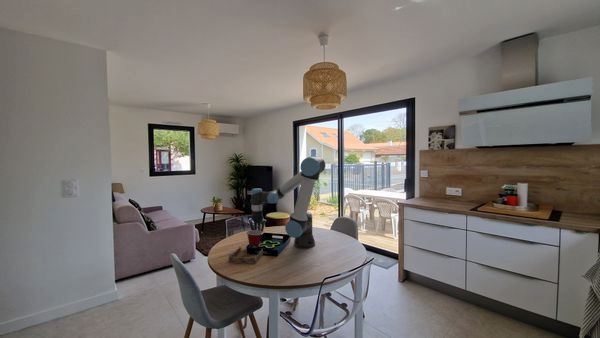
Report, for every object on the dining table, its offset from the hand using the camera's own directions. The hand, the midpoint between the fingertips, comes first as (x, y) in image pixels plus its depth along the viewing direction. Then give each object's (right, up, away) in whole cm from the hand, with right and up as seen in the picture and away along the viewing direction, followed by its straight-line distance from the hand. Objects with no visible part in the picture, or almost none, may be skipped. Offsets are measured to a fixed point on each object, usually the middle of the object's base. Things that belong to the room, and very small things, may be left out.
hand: (257, 242), depth 176 cm
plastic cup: (-1, -3, -6) cm, 7 cm away
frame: (-3, -3, -20) cm, 20 cm away
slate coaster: (-13, -3, -14) cm, 20 cm away
